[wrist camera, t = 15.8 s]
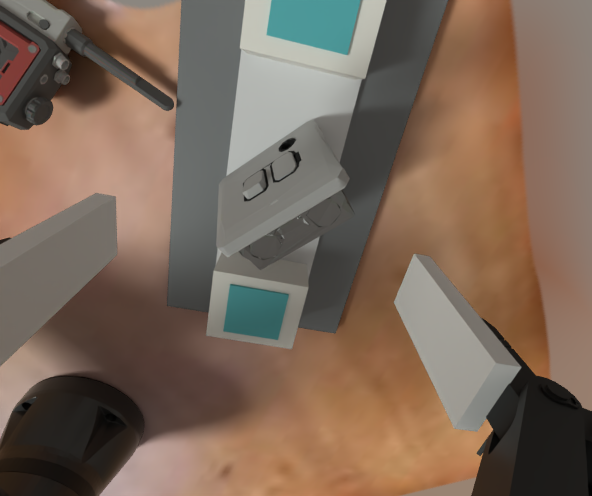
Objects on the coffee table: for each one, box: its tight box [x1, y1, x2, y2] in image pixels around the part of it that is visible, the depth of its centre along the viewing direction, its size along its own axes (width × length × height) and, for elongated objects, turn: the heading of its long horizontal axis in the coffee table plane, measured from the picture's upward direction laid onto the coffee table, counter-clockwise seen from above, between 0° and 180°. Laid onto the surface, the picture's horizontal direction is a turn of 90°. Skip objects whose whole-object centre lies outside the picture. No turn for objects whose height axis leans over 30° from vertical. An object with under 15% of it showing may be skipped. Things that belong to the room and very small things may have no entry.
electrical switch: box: [216, 120, 355, 270], centre depth 24 cm, size 9×5×9 cm, turn 122°
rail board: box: [167, 0, 448, 349], centre depth 26 cm, size 18×32×6 cm, turn 168°
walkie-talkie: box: [0, 0, 174, 130], centre depth 23 cm, size 9×4×20 cm
